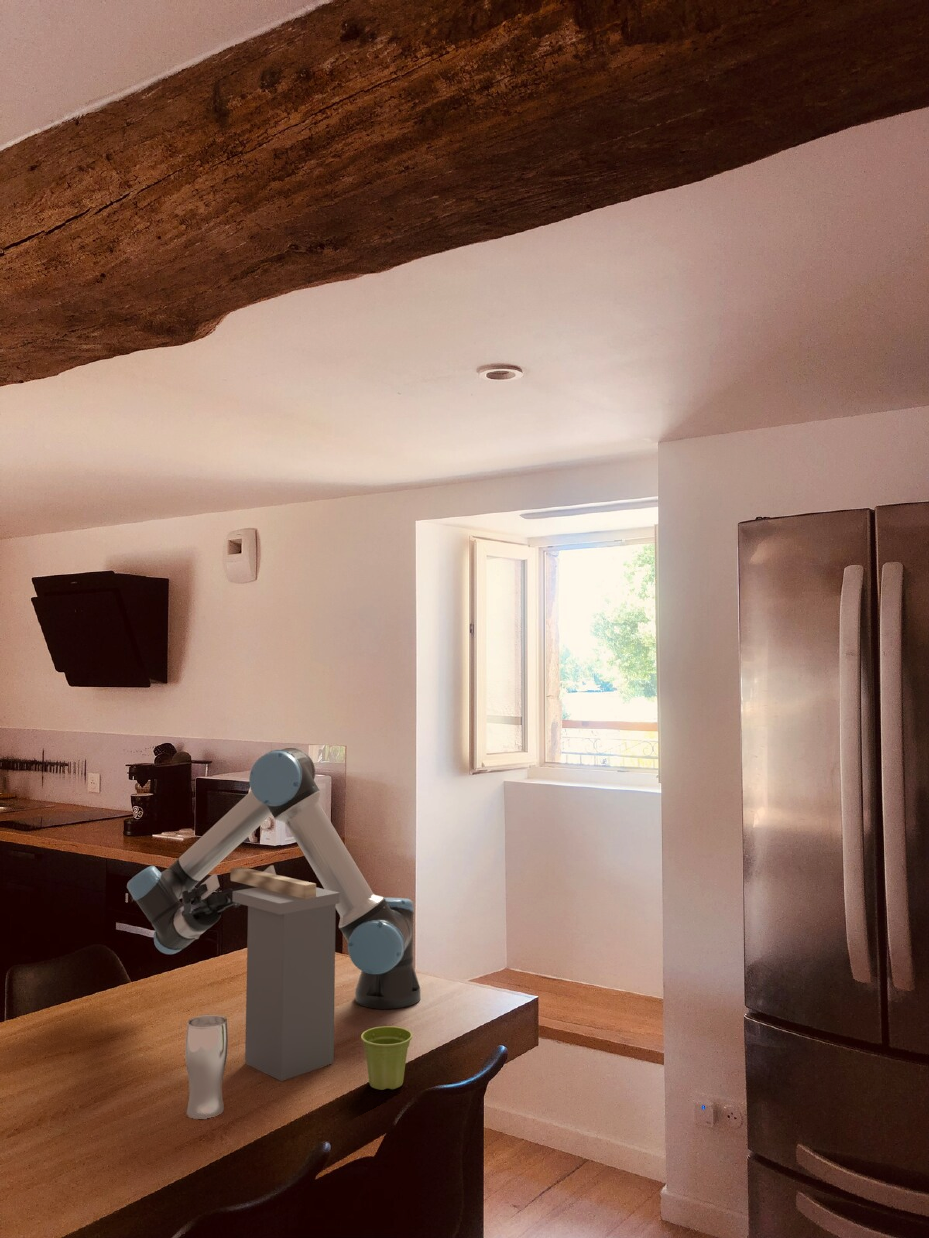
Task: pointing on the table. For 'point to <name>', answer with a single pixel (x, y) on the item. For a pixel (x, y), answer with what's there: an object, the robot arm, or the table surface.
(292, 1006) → the grey stand
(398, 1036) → the plant pot
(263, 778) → the robot arm
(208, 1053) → the beer glass
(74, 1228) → the table surface
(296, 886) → the wooden bar
